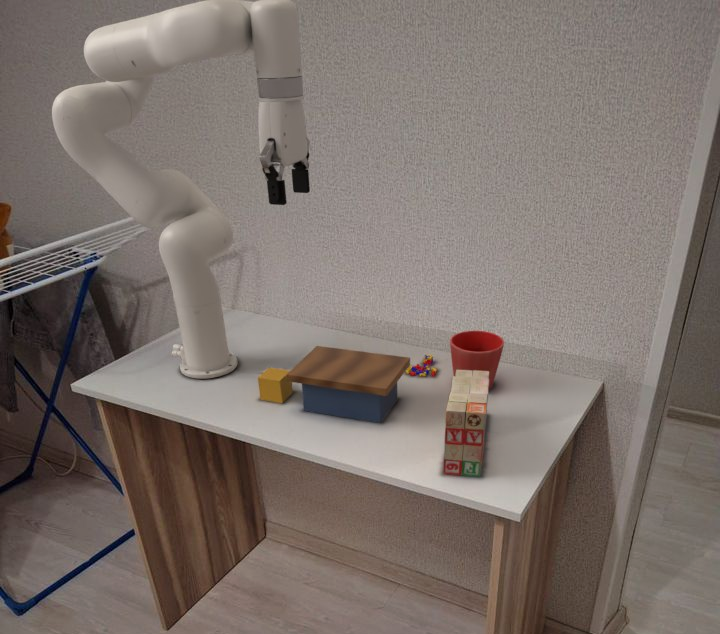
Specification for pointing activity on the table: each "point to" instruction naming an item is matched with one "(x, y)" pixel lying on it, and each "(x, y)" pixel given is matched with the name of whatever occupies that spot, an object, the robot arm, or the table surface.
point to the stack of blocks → (466, 423)
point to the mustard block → (274, 385)
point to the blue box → (348, 402)
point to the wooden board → (349, 370)
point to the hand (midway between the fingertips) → (290, 198)
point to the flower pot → (476, 352)
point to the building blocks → (427, 361)
